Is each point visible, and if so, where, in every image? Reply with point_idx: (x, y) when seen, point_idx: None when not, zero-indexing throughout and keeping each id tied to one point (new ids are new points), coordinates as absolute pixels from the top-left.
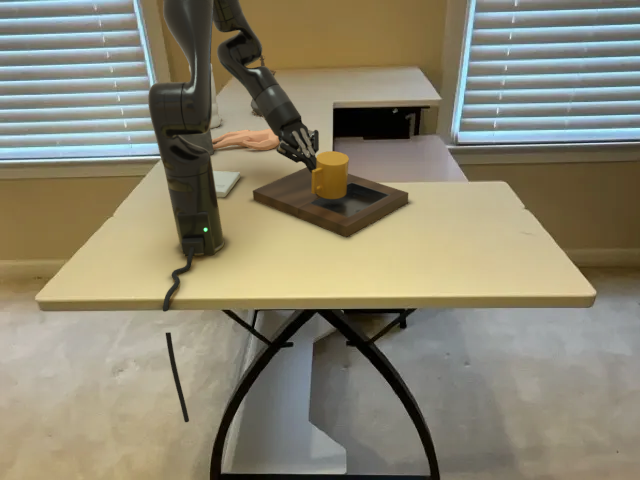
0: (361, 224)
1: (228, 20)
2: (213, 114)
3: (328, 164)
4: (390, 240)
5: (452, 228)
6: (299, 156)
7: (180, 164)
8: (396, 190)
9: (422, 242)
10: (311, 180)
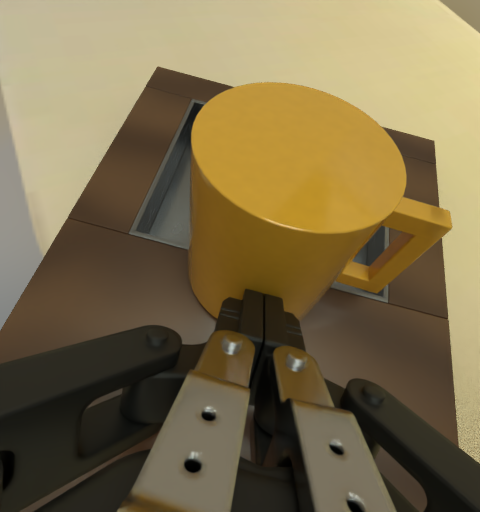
0: None
1: None
2: None
3: (389, 138)
4: (363, 89)
5: (250, 16)
6: (395, 398)
7: None
8: (154, 92)
9: (333, 46)
10: None
